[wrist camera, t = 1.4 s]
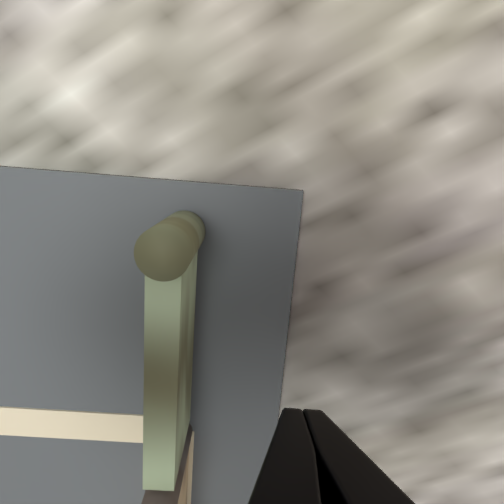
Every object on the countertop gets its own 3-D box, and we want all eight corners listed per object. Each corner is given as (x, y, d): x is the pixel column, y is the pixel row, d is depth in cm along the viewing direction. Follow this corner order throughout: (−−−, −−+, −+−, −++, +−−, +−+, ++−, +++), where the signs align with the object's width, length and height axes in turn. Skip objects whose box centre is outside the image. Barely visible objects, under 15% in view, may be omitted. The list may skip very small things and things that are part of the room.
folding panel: (196, 419, 18) (180, 496, 14) (159, 417, 18) (133, 493, 14) (206, 212, 15) (191, 228, 11) (164, 208, 15) (133, 224, 11)
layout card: (256, 606, 22) (256, 616, 21) (-66, 592, 21) (-73, 602, 21) (302, 190, 16) (303, 190, 15) (-139, 154, 15) (-152, 154, 15)
